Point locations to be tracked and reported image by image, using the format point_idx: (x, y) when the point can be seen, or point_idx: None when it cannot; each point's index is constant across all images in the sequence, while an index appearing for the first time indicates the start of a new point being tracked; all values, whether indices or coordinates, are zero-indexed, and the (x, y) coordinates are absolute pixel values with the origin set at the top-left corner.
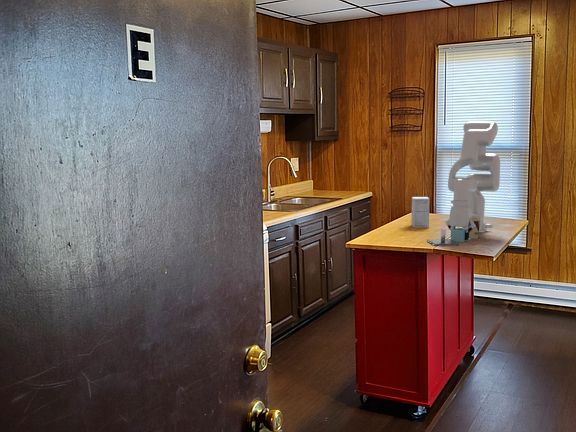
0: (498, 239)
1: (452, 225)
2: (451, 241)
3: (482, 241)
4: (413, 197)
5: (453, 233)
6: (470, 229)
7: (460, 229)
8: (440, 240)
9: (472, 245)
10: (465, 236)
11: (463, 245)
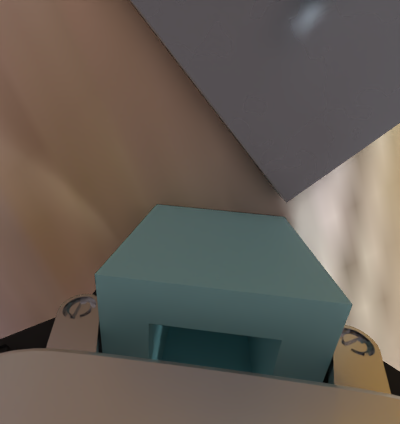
0: None
1: (380, 395)
2: (230, 37)
3: None
4: None
5: (278, 254)
6: (5, 341)
7: (177, 326)
8: (396, 15)
9: (3, 82)
10: None
11: (65, 9)
